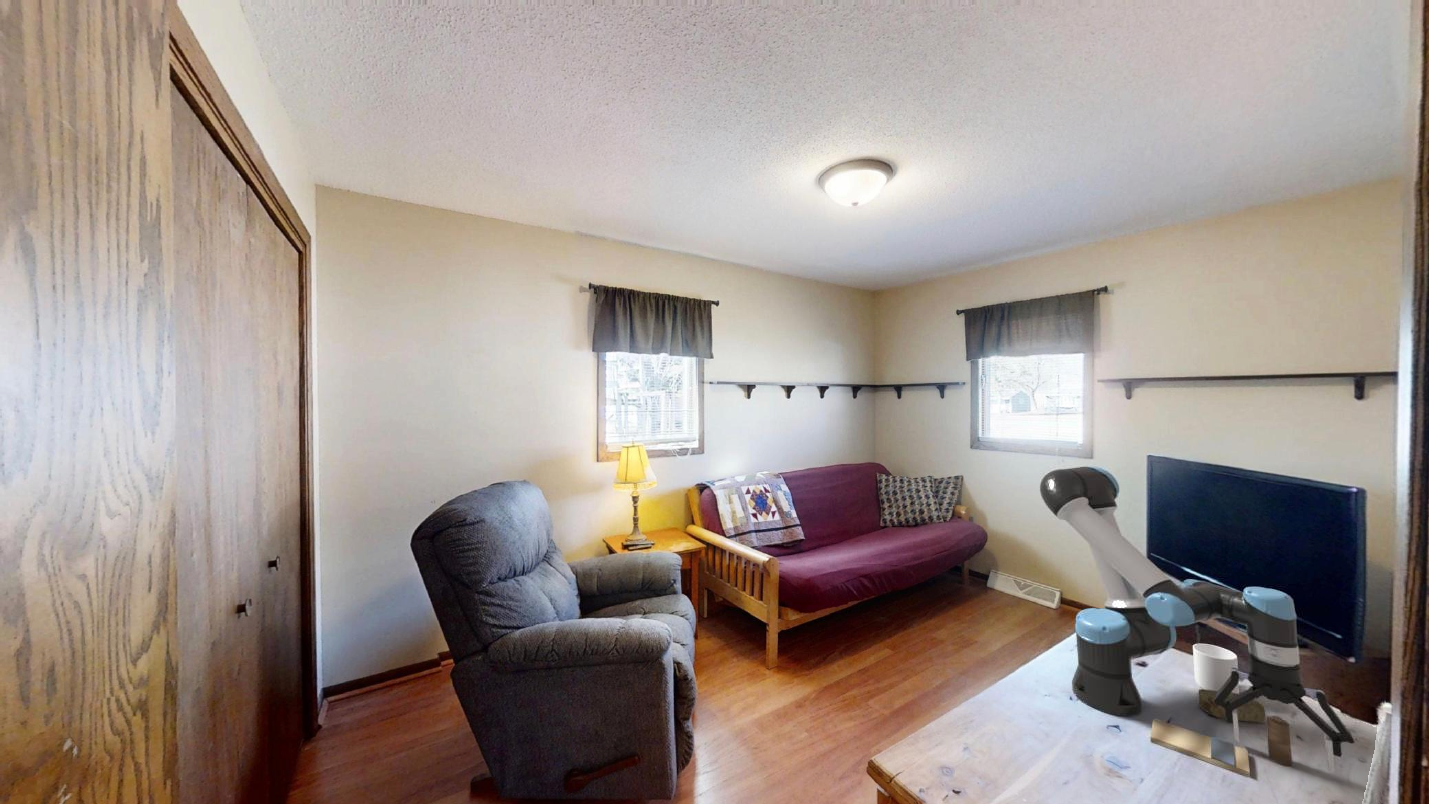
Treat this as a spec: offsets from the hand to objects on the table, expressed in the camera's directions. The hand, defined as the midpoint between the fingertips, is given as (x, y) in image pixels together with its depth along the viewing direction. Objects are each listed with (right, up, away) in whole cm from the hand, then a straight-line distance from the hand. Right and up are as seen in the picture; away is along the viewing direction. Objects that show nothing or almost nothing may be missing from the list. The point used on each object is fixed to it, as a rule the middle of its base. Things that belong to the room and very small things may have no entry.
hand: (1281, 752), depth 106 cm
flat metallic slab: (-5, -2, +13) cm, 14 cm away
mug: (+15, -2, +27) cm, 31 cm away
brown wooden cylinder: (0, -2, 0) cm, 2 cm away
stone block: (+6, -2, +16) cm, 17 cm away
